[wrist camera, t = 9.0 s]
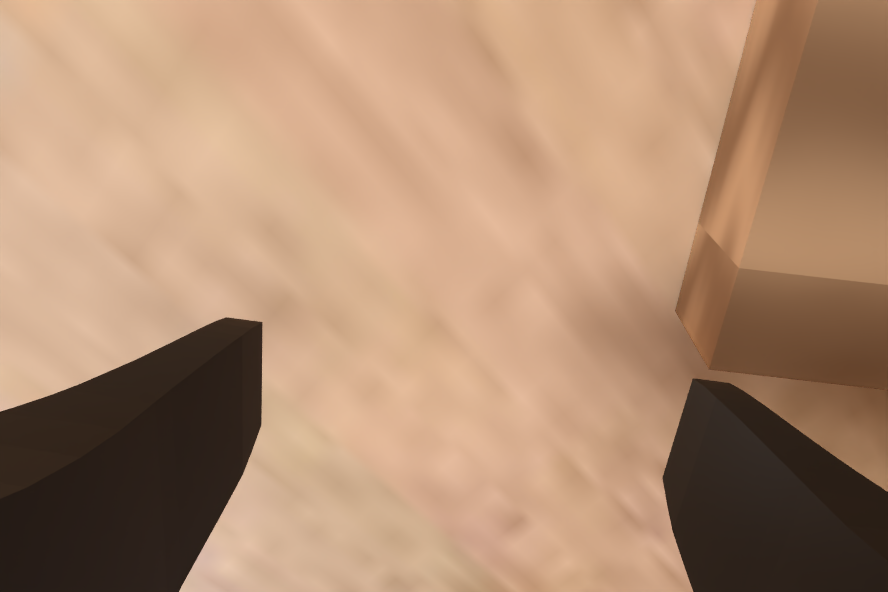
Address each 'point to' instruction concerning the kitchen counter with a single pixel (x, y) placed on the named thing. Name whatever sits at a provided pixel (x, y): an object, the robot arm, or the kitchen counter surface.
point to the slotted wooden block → (799, 202)
